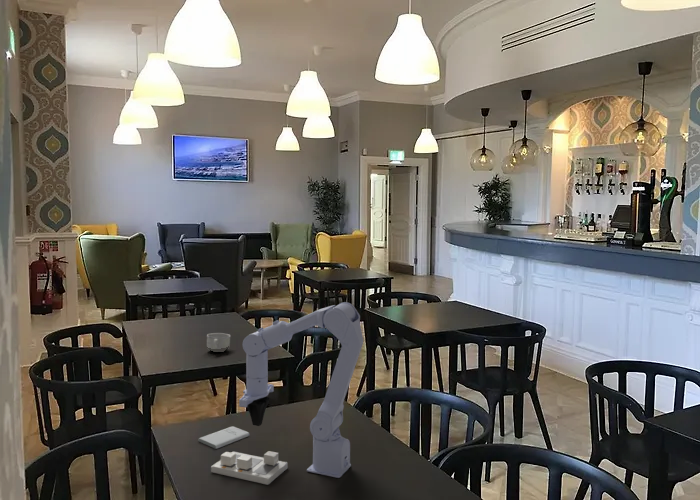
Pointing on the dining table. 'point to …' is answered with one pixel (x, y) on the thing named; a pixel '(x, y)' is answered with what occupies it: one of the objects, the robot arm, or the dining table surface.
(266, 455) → the switch tab near
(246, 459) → the switch tab mid
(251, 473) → the panel
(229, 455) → the switch tab far
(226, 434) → the external hard drive
